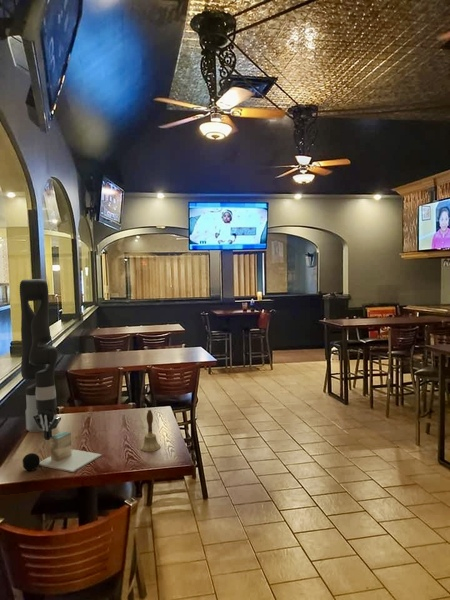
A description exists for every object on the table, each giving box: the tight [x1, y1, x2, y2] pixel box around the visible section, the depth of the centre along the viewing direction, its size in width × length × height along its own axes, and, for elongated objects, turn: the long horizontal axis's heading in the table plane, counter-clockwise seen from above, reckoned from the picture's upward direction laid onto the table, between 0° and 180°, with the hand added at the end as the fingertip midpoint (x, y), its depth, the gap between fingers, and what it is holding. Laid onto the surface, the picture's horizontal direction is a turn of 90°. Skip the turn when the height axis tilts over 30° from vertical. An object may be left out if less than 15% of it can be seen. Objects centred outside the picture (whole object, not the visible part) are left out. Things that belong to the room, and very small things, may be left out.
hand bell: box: [139, 409, 161, 453], centre depth 190 cm, size 8×8×16 cm
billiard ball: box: [22, 452, 41, 471], centre depth 172 cm, size 6×6×6 cm
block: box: [49, 431, 72, 461], centre depth 181 cm, size 4×7×9 cm, turn 156°
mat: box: [38, 449, 102, 473], centre depth 180 cm, size 18×16×1 cm
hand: (48, 439), depth 184 cm, fingers closed
